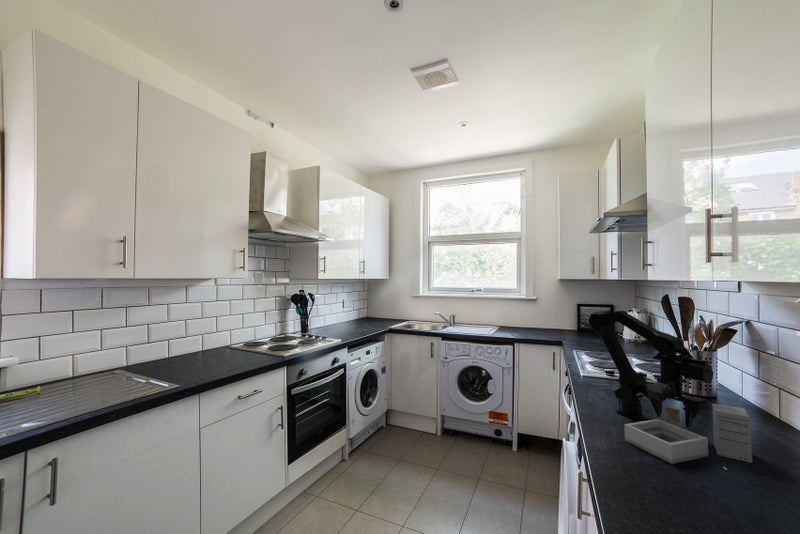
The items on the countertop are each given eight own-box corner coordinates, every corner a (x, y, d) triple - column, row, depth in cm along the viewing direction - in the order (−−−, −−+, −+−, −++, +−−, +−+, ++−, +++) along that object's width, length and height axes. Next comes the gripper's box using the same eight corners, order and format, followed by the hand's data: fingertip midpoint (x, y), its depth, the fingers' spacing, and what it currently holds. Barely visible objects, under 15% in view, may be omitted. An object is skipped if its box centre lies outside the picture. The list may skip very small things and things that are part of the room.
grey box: (624, 440, 105) (624, 424, 105) (658, 434, 109) (657, 418, 109) (671, 463, 91) (671, 445, 92) (708, 456, 95) (707, 438, 95)
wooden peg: (664, 428, 113) (663, 407, 113) (671, 427, 114) (671, 406, 114) (675, 433, 110) (674, 411, 110) (683, 431, 111) (682, 410, 111)
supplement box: (713, 445, 102) (711, 402, 102) (748, 452, 97) (746, 408, 97) (715, 455, 96) (713, 410, 96) (753, 463, 91) (750, 416, 92)
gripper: (626, 369, 119) (628, 414, 119) (683, 385, 101) (685, 438, 101) (650, 367, 122) (652, 410, 122) (709, 382, 105) (712, 433, 104)
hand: (673, 422), depth 112 cm, fingers open, 9 cm apart
